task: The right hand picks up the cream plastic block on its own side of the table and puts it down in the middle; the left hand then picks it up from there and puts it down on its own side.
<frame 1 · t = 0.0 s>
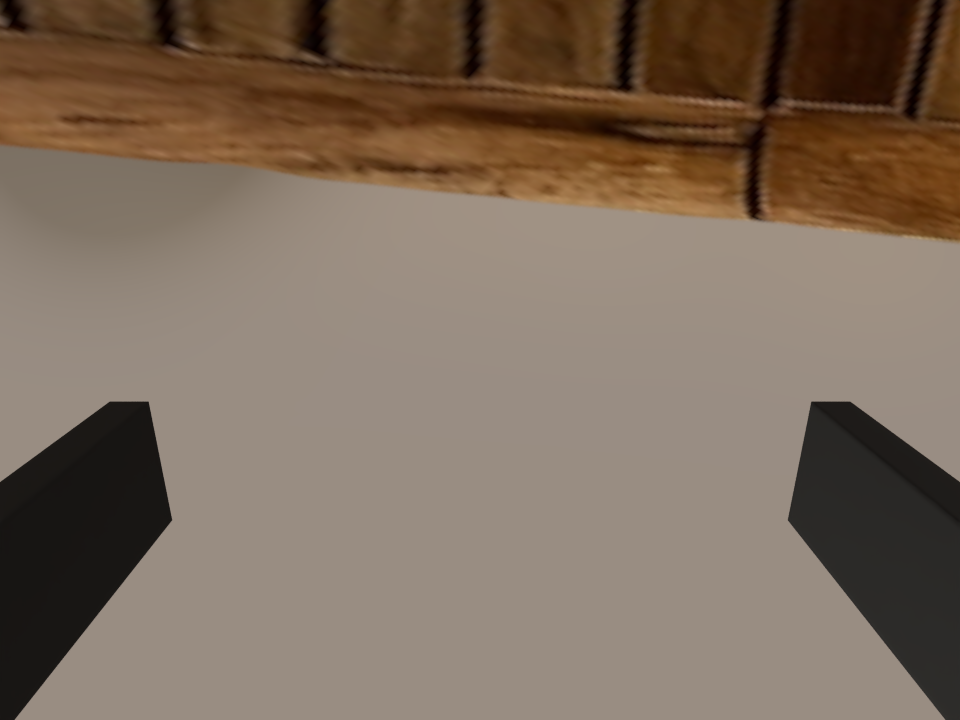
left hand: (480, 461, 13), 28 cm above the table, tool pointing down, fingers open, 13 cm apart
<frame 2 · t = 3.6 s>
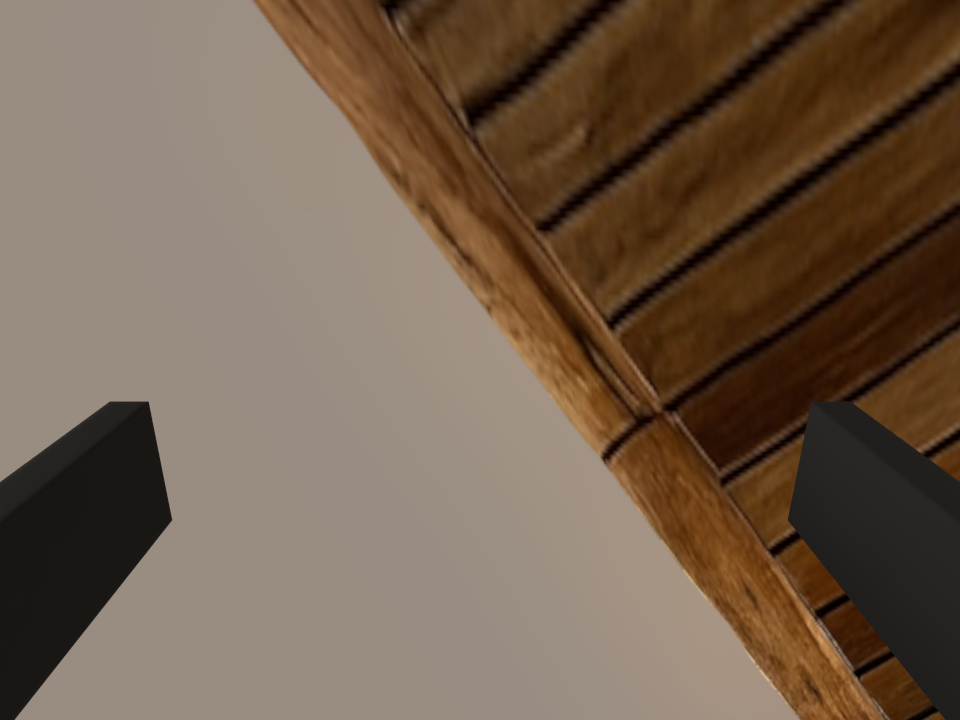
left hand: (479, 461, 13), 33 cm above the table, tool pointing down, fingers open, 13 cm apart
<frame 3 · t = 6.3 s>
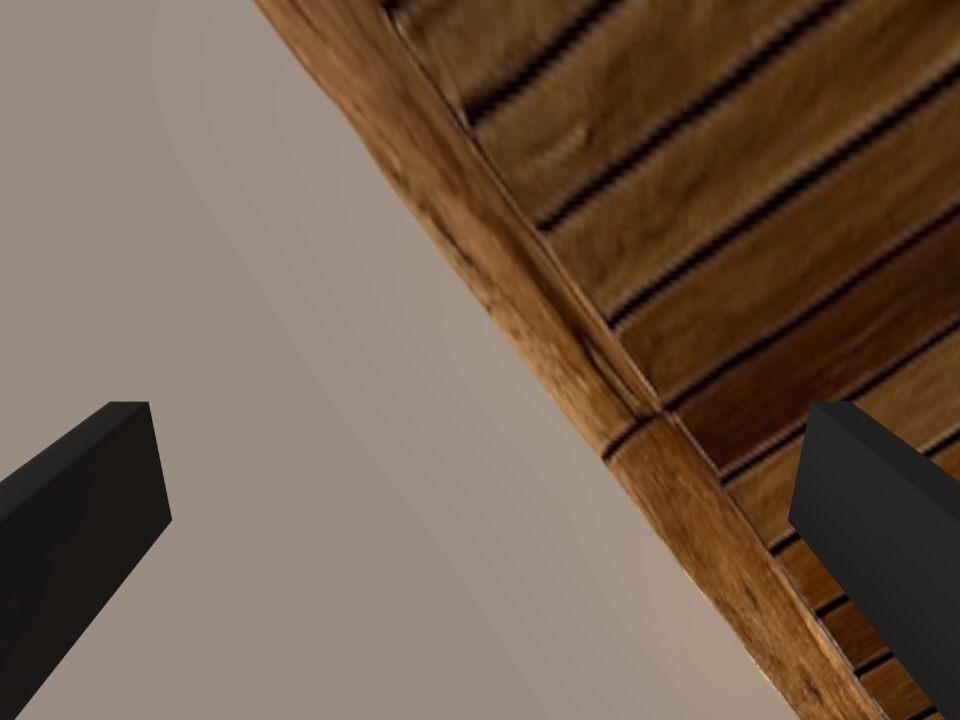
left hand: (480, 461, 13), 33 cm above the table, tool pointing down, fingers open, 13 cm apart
when the right hand's fingers open (2 cm above the table, at t = 9.0 s): block stays where it is, on the table.
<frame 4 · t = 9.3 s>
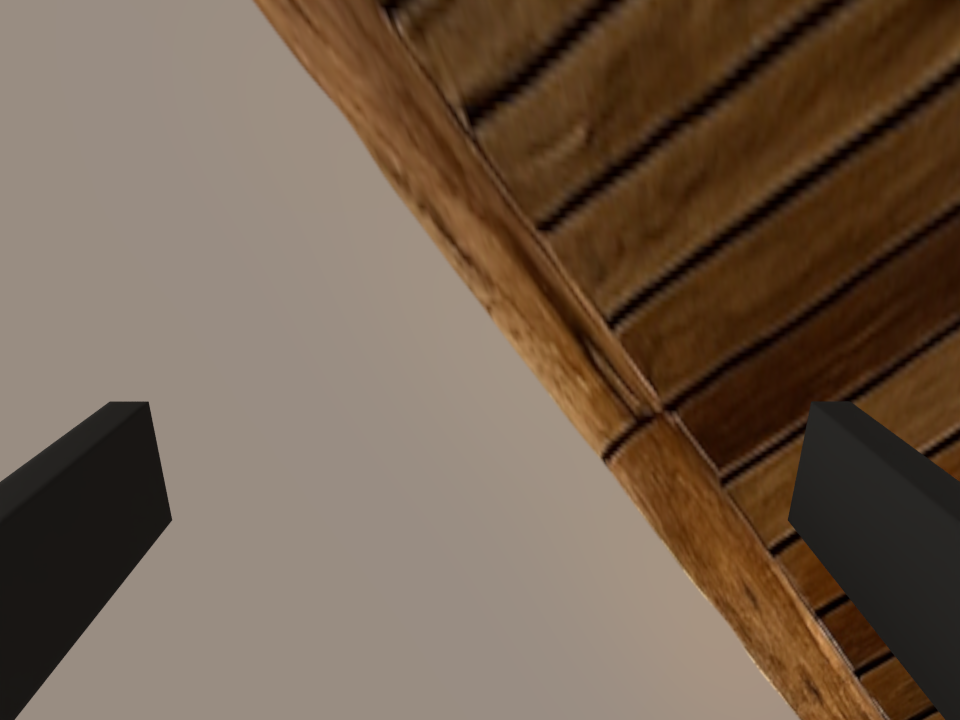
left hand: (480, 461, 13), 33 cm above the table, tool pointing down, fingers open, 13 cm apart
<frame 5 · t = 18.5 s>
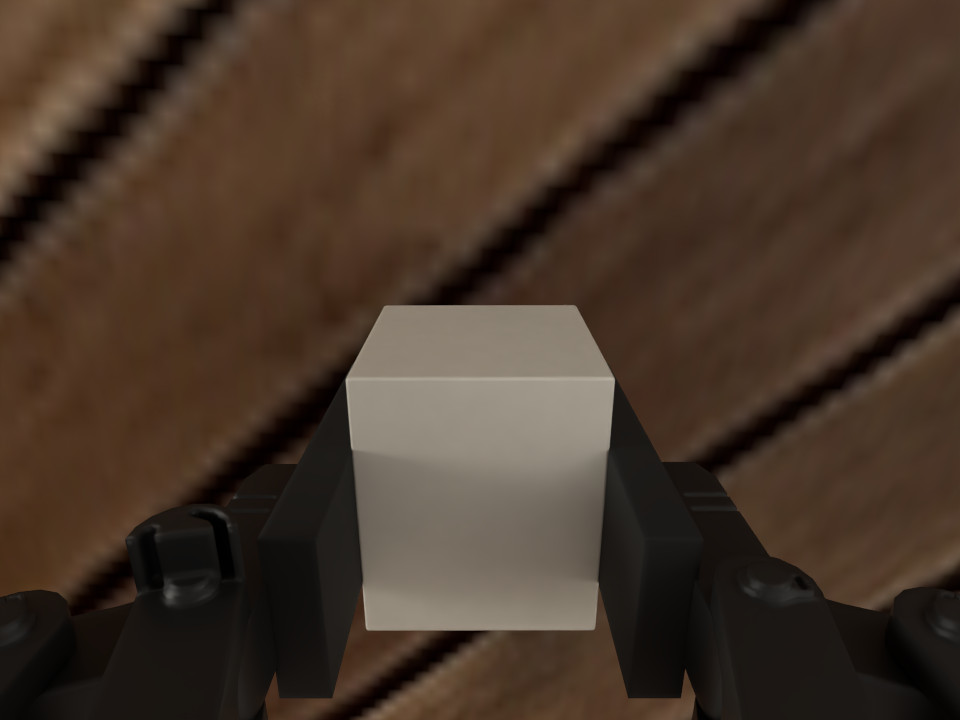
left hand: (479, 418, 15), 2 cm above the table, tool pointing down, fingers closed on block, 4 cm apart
block: (480, 409, 15), point 2 cm above the table, touching left hand
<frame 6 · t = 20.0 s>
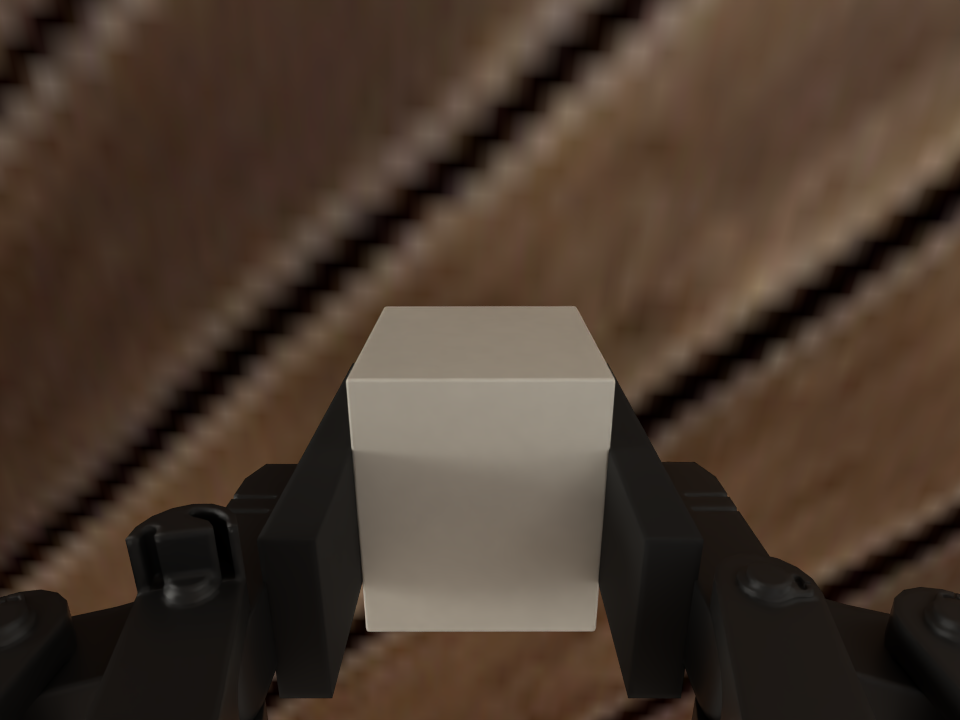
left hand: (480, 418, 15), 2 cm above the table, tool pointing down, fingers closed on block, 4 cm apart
block: (480, 409, 15), point 2 cm above the table, touching left hand
when the left hand's fingers open (0 cm above the table, at t = 22.1 s): block stays where it is, on the table.
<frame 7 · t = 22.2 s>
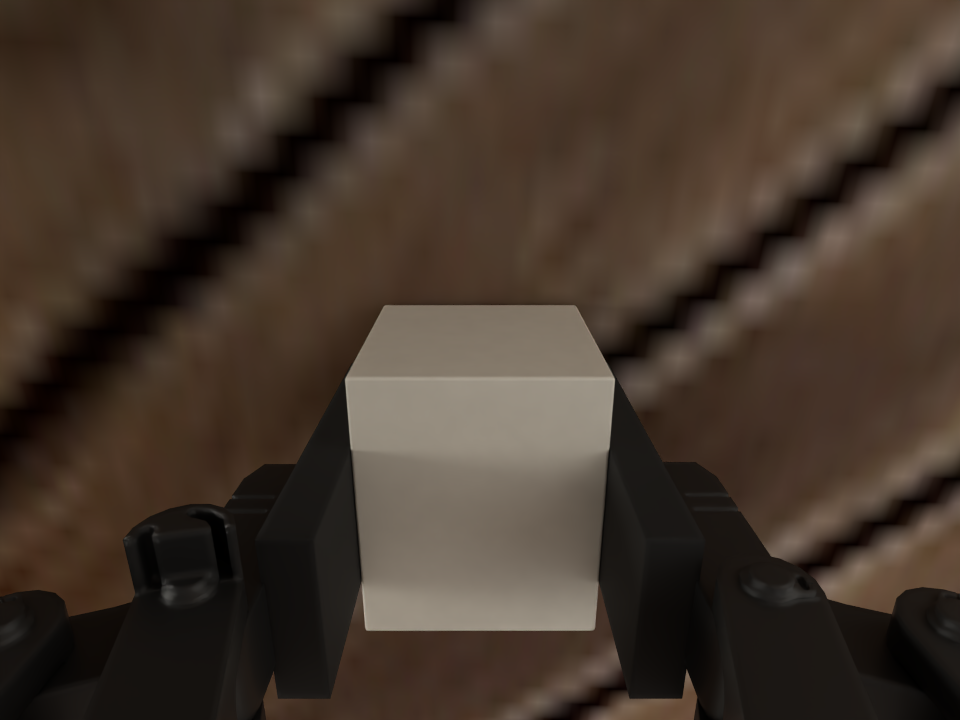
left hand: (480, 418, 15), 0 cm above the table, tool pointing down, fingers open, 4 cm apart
block: (480, 408, 15), on the table
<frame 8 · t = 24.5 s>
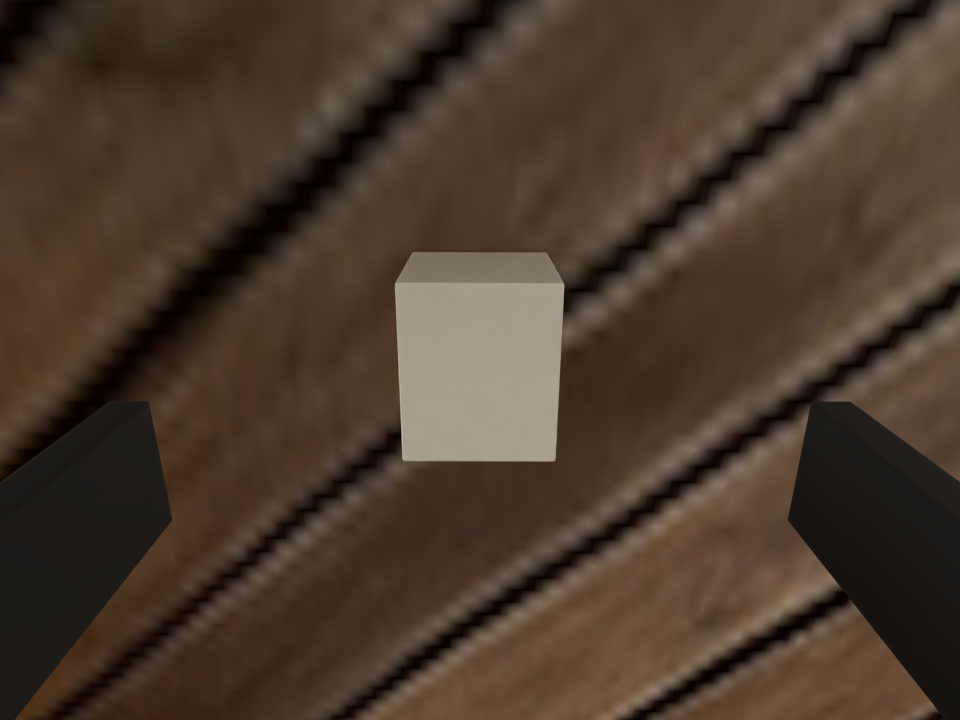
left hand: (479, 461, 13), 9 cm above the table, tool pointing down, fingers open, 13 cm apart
block: (479, 328, 21), on the table
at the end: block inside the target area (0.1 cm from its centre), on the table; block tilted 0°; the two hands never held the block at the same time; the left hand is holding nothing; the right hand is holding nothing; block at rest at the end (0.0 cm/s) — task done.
